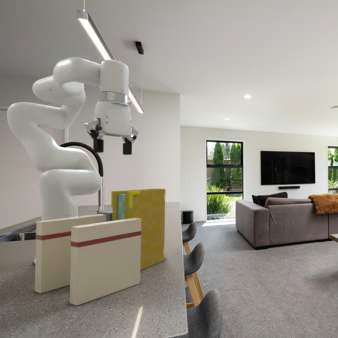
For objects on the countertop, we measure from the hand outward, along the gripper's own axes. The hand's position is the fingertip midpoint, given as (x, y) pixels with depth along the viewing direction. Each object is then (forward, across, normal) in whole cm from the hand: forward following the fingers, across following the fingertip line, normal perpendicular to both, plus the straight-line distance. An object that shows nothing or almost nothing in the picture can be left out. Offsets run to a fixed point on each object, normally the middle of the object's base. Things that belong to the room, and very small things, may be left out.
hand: (113, 153), depth 92 cm
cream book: (+37, +12, 0) cm, 39 cm away
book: (+37, -5, +6) cm, 38 cm away
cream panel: (+37, +14, +16) cm, 43 cm away
